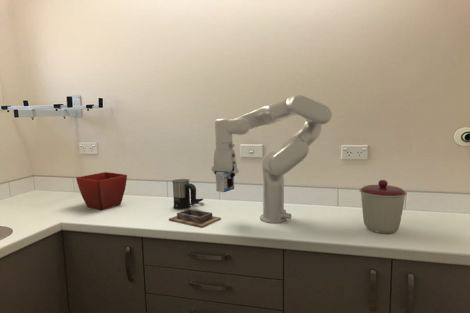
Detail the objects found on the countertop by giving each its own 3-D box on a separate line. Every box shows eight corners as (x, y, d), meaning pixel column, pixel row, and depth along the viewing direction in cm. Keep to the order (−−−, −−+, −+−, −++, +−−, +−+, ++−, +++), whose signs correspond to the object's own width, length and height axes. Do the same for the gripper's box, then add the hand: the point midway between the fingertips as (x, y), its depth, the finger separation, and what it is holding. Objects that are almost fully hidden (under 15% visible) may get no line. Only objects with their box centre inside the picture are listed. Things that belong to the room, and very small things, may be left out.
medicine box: (223, 192, 149) (223, 173, 148) (216, 191, 151) (215, 172, 150) (234, 189, 155) (234, 170, 154) (226, 188, 158) (226, 169, 157)
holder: (220, 219, 159) (220, 212, 158) (201, 227, 147) (201, 220, 147) (188, 213, 170) (188, 206, 169) (168, 220, 158) (168, 213, 158)
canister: (410, 228, 143) (413, 179, 141) (397, 240, 130) (399, 186, 127) (367, 219, 155) (369, 174, 152) (351, 230, 142) (352, 180, 139)
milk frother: (170, 209, 177) (169, 181, 176) (182, 201, 193) (181, 176, 191) (195, 210, 174) (194, 182, 172) (205, 203, 189) (205, 176, 187)
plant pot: (100, 213, 172) (98, 180, 170) (77, 208, 182) (75, 177, 180) (129, 204, 188) (128, 174, 186) (107, 200, 198) (105, 172, 196)
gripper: (244, 146, 149) (245, 186, 151) (214, 145, 159) (215, 183, 161) (235, 147, 143) (236, 190, 145) (204, 146, 152) (205, 186, 155)
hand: (225, 186), depth 153 cm, fingers closed on medicine box, 4 cm apart
